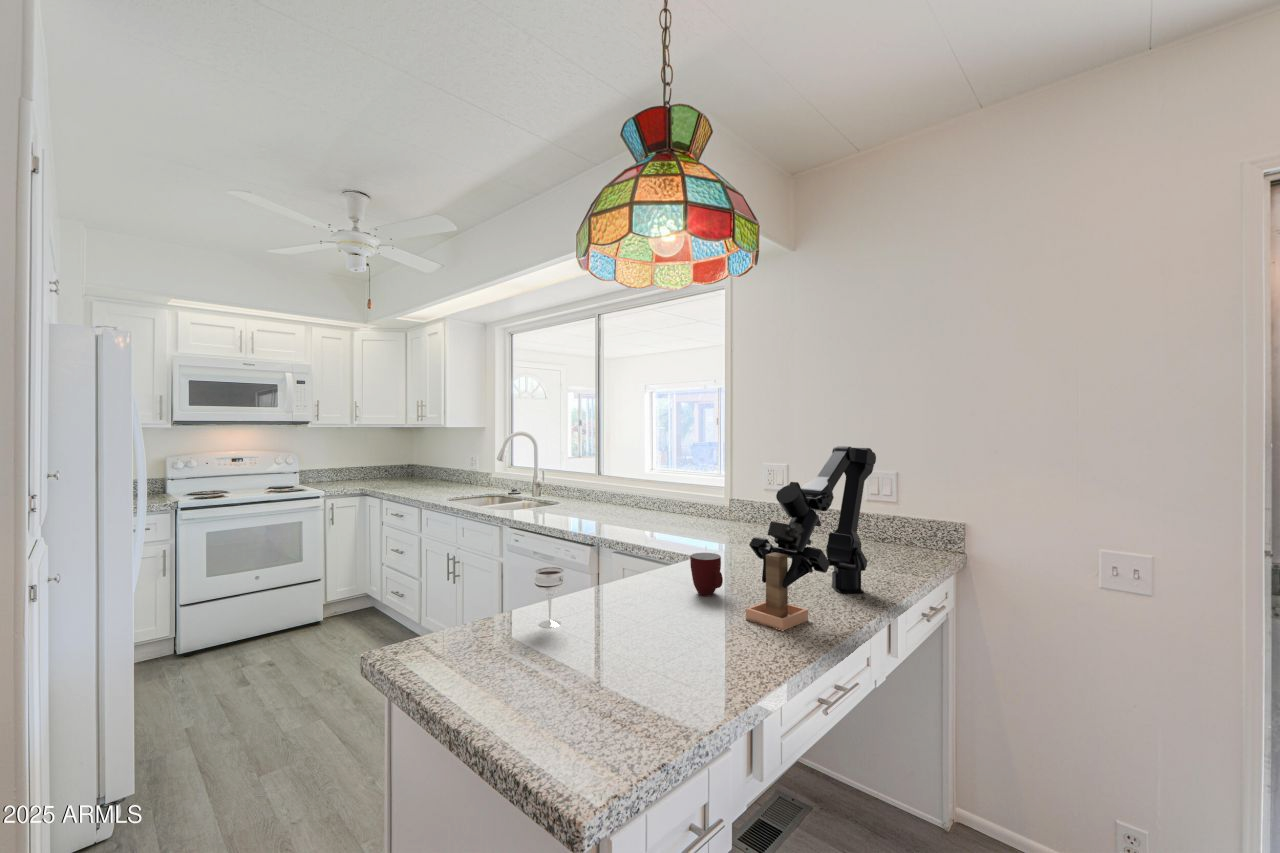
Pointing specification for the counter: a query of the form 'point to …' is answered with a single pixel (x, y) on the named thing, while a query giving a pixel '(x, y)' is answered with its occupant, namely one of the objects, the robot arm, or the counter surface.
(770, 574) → the wood grain bar
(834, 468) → the robot arm
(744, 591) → the counter surface
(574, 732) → the counter surface
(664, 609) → the counter surface
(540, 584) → the wineglass
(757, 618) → the dish
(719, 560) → the mug
